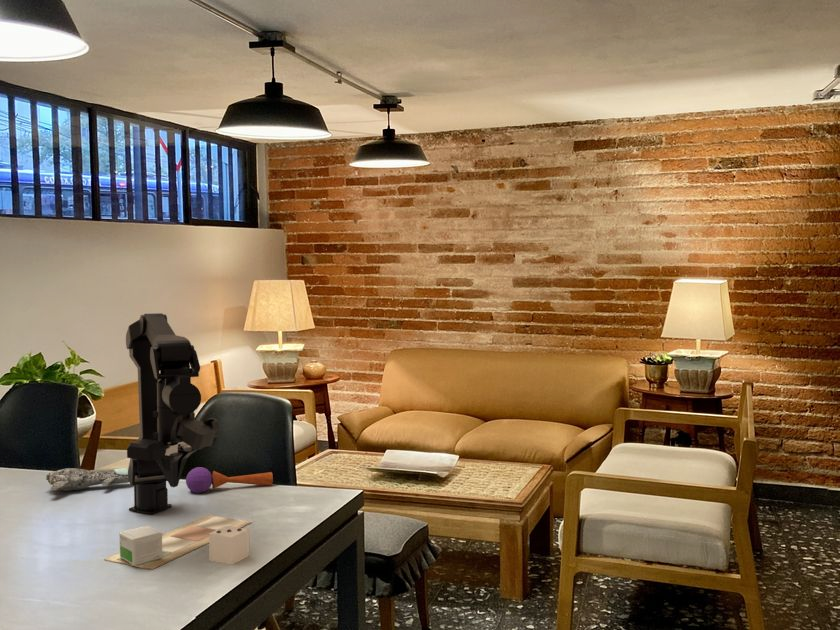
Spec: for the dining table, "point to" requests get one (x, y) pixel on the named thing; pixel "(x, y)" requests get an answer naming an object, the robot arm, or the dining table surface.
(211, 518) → the game board
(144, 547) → the small box
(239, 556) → the die
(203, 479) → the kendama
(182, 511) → the dining table surface
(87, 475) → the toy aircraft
